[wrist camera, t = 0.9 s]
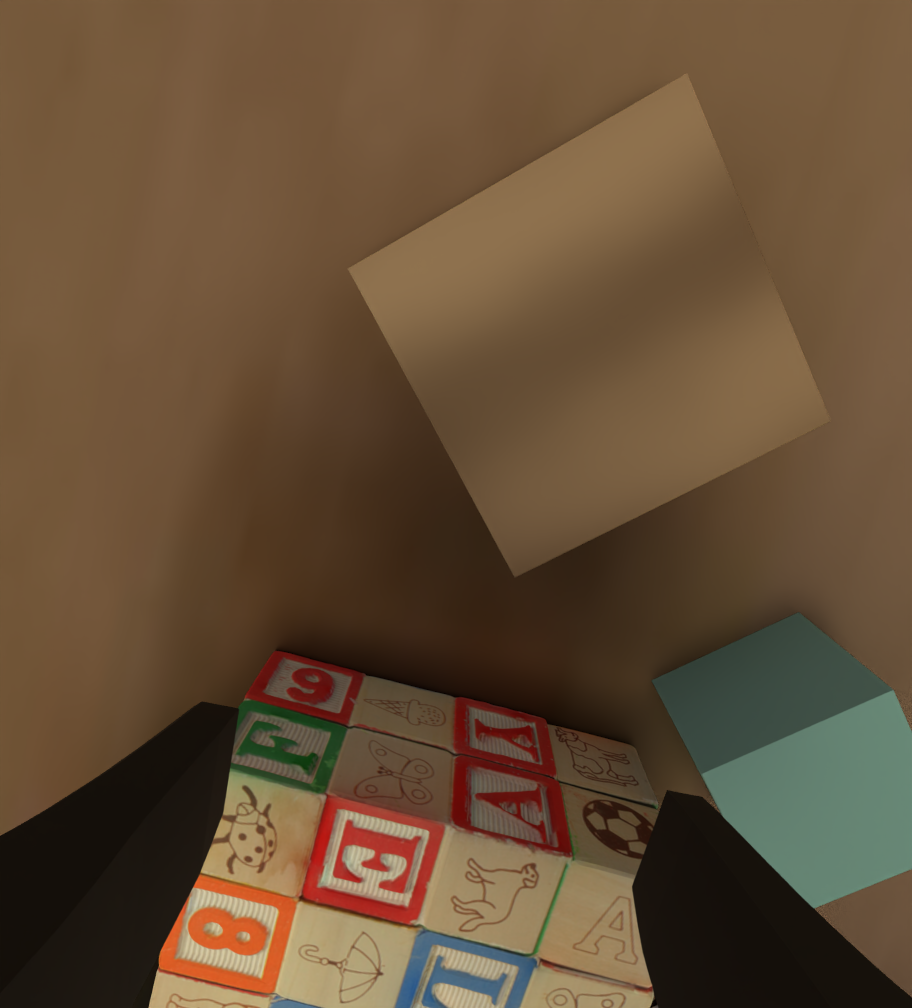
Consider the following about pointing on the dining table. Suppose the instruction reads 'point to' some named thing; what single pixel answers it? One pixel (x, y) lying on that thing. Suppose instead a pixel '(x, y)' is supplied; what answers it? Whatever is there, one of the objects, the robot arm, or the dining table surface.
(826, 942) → the robot arm
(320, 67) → the dining table surface
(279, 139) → the dining table surface
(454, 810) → the stack of blocks
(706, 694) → the teal cube
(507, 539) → the walnut block
